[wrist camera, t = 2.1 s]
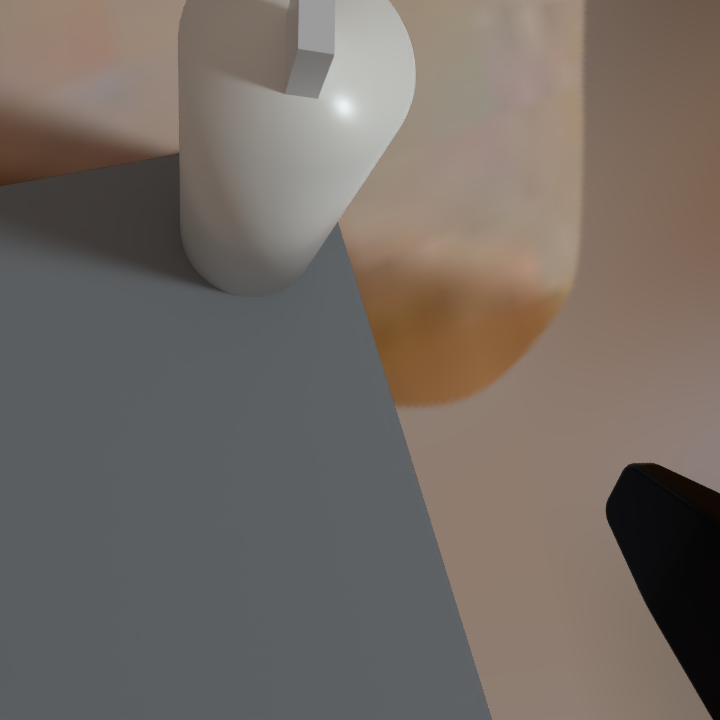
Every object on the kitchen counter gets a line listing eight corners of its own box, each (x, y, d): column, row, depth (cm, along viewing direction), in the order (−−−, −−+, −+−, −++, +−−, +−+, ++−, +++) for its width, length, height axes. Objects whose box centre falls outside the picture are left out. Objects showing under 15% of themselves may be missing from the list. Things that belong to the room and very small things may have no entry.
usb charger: (314, 301, 22) (445, 150, 11) (177, 292, 21) (171, 114, 10) (316, 175, 23) (441, -86, 12) (182, 160, 21) (183, -144, 11)
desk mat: (494, 753, 22) (505, 763, 22) (-105, 1055, 17) (-118, 1083, 16) (305, 141, 24) (309, 130, 23) (-307, 253, 18) (-329, 245, 18)
